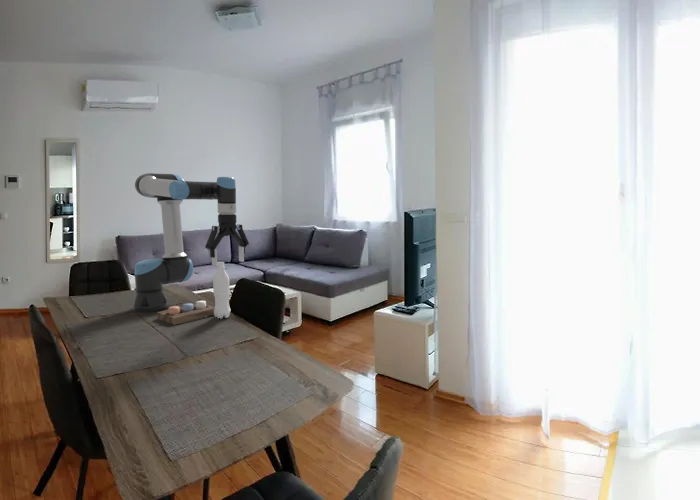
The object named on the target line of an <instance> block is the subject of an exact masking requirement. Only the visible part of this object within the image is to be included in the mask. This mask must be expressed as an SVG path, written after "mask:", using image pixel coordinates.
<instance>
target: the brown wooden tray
mask: <svg viewBox="0 0 700 500" xmlns="http://www.w3.org/2000/svg"><path fill="white" fill-rule="evenodd" d="M179 309H180V314H176V315H172V316H171V315H169V309H166V310H160V311H156V313H157V314H156V315H157V320H160V321H162V322H165V323H168V324H171V325H173V326H176V325H178V324H183V323H187V321H188V322H191V320H192V321H195V320H194V319H196V320H199V319H198V318H200V319H203V318H202V317H205V316H209V315H213V314H214V309H215V306H212V305H209V304H206V308H203V309H196V303H195V304H194V303H193V311H190V312H183V306H179ZM213 316H214V315H213ZM209 317H210V316H209ZM205 318H206V317H205Z"/></svg>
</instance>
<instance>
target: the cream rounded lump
mask: <svg viewBox="0 0 700 500" xmlns="http://www.w3.org/2000/svg"><path fill="white" fill-rule="evenodd" d="M195 304H196V309H203V308H206V305H207V301H206V300H197V301H196V302H195Z"/></svg>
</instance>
